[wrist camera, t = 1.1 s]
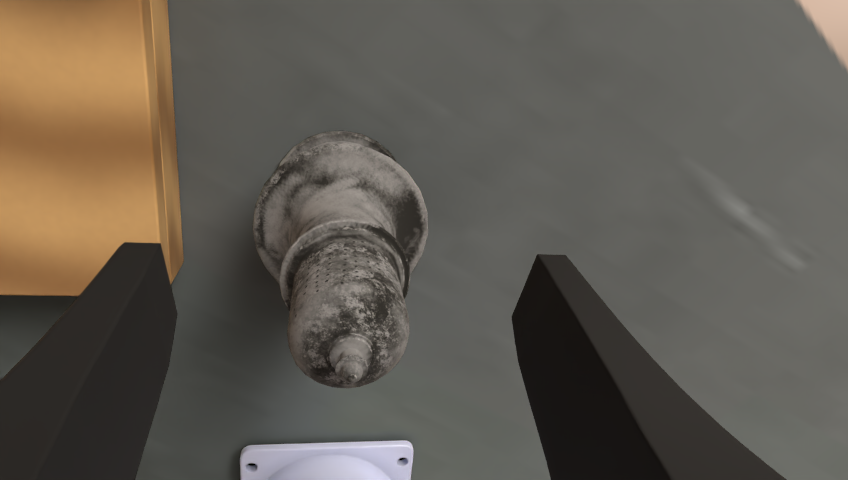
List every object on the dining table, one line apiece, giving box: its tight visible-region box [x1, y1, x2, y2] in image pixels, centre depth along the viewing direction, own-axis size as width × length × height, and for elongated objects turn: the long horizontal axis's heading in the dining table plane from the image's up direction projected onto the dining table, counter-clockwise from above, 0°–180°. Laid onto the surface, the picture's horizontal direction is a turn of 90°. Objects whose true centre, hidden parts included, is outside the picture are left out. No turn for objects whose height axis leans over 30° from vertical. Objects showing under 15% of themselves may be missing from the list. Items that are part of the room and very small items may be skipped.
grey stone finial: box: [253, 131, 428, 388], centre depth 17 cm, size 6×6×12 cm
